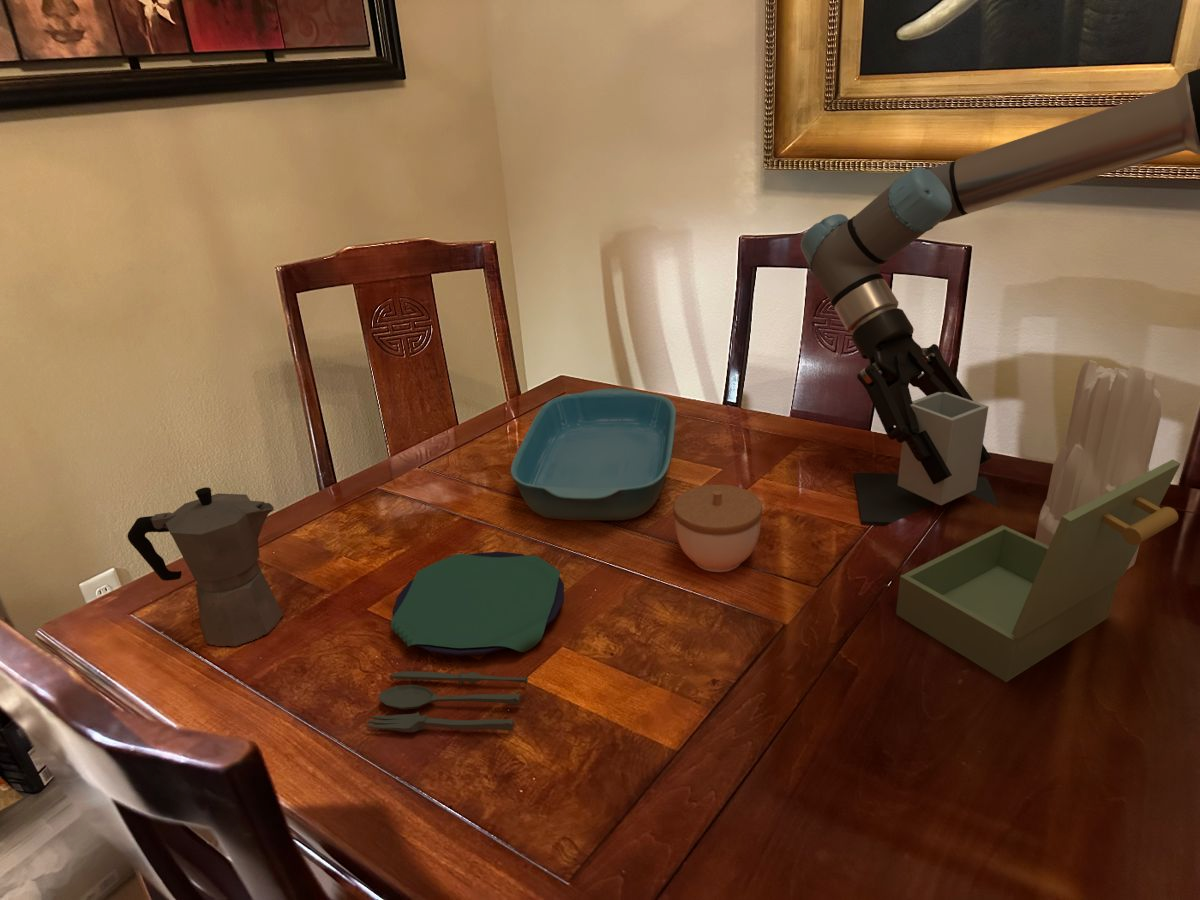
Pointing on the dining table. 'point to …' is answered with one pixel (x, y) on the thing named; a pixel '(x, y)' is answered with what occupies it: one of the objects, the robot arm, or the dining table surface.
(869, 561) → the dining table surface
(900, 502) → the mat
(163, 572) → the coffeepot
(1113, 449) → the decorative vase
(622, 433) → the casserole dish
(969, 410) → the container
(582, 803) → the dining table surface
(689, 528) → the trinket box
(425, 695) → the cutlery set
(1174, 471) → the lid
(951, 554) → the green open box
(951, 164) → the robot arm
